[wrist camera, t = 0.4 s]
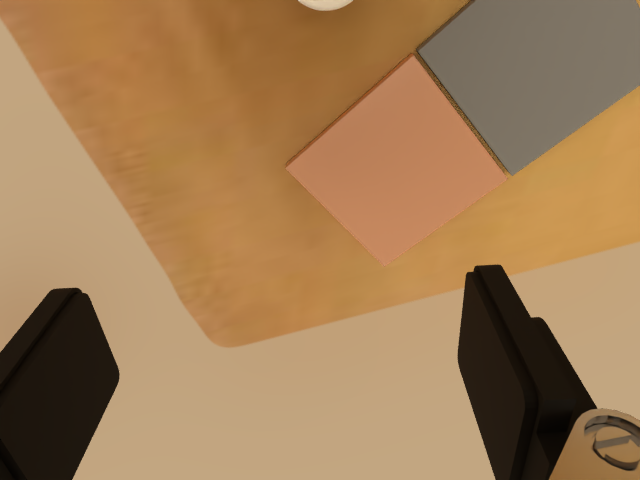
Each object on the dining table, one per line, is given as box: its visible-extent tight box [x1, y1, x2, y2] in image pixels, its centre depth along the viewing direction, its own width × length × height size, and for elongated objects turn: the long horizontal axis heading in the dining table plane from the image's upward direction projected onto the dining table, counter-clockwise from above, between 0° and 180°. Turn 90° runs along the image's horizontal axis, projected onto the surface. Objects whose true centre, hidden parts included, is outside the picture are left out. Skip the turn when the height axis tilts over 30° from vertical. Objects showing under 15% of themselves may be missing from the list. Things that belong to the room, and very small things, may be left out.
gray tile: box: [416, 0, 640, 176], centre depth 36 cm, size 14×14×1 cm
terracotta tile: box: [285, 53, 508, 267], centre depth 41 cm, size 14×14×1 cm
